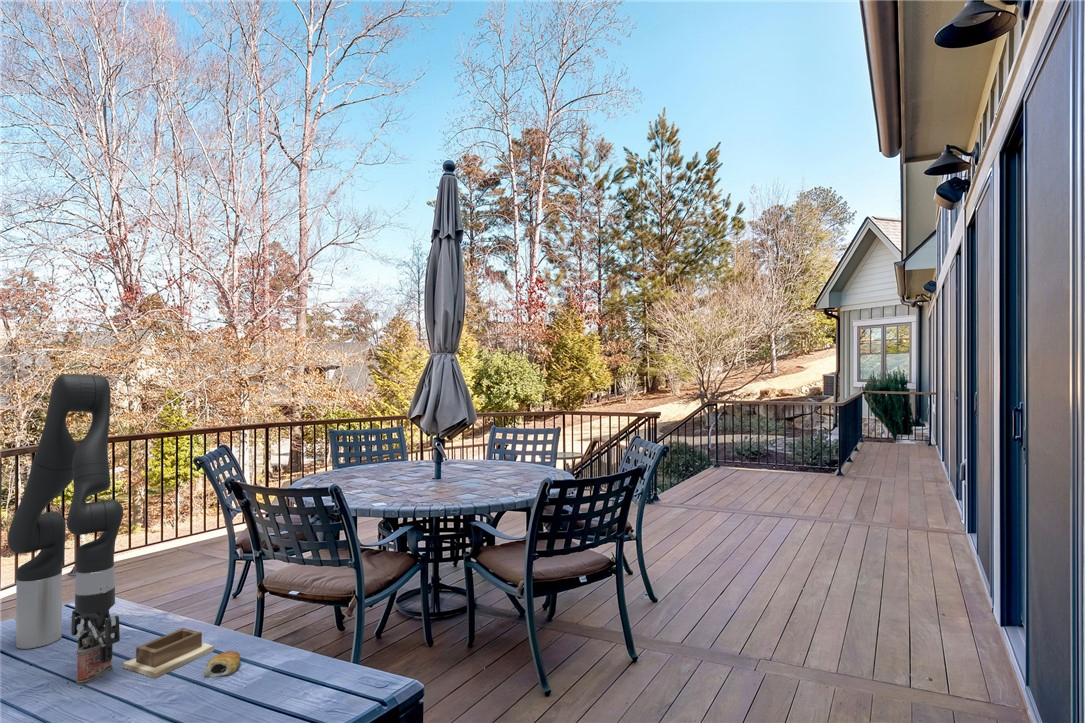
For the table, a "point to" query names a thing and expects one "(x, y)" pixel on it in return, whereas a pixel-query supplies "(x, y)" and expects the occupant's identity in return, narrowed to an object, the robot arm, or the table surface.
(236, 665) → the pastry
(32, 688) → the table surface
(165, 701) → the table surface
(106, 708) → the table surface
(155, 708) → the table surface
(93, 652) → the lighter
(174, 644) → the wooden box with base
